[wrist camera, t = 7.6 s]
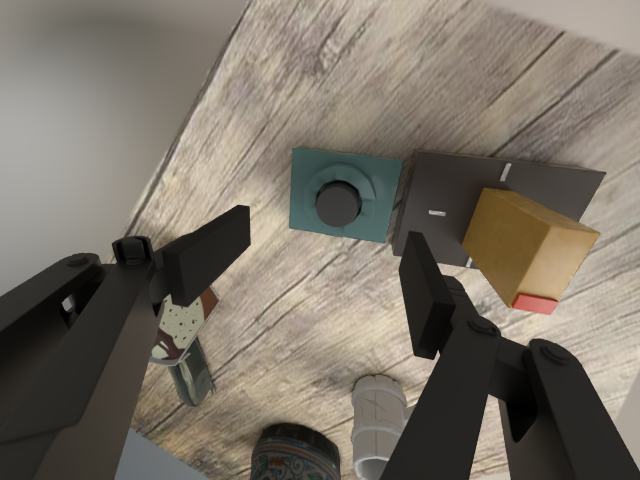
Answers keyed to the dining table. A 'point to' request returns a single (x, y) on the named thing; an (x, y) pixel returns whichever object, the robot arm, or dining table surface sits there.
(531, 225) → the lock knob
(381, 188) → the push button box
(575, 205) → the lock plate
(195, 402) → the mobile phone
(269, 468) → the beer stein
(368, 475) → the mug
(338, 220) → the bell button
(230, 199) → the dining table surface
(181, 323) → the food container
